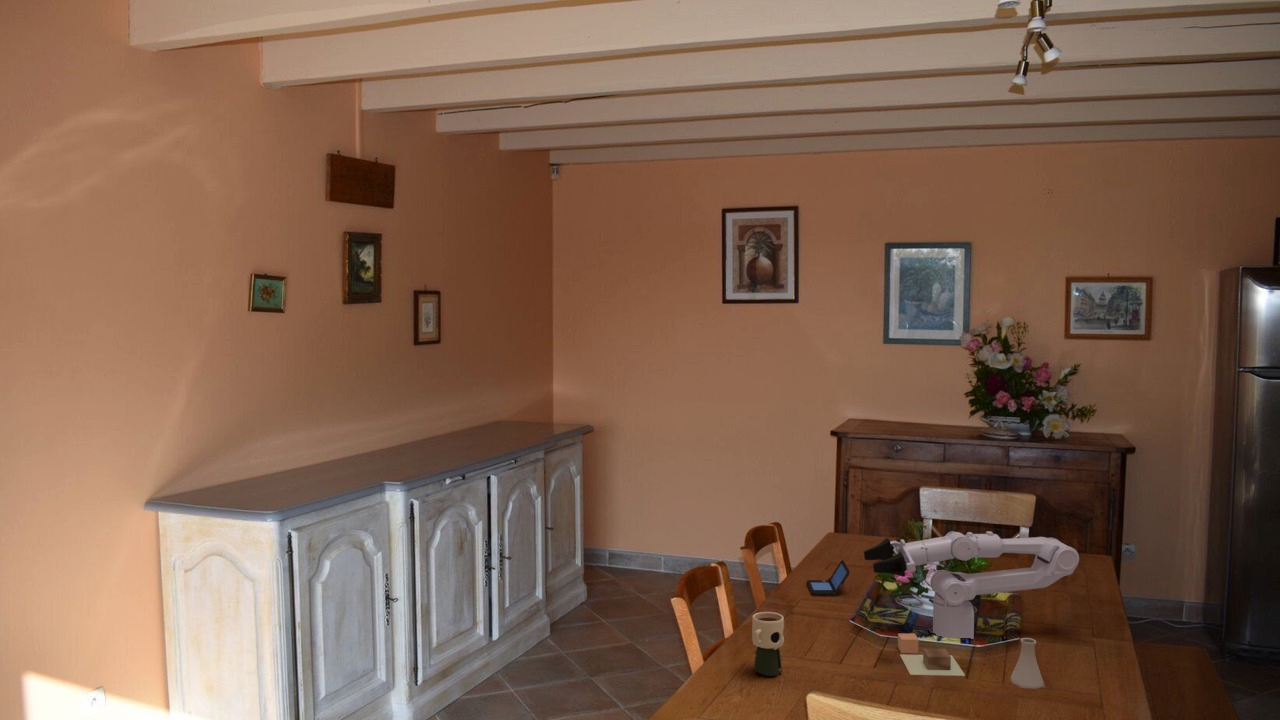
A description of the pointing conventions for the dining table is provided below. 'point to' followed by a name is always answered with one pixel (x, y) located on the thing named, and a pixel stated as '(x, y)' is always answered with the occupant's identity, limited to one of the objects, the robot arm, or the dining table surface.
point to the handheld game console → (829, 582)
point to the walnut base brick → (936, 659)
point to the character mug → (767, 642)
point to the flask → (1027, 667)
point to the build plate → (919, 668)
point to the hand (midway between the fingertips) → (868, 561)
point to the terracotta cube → (908, 643)
